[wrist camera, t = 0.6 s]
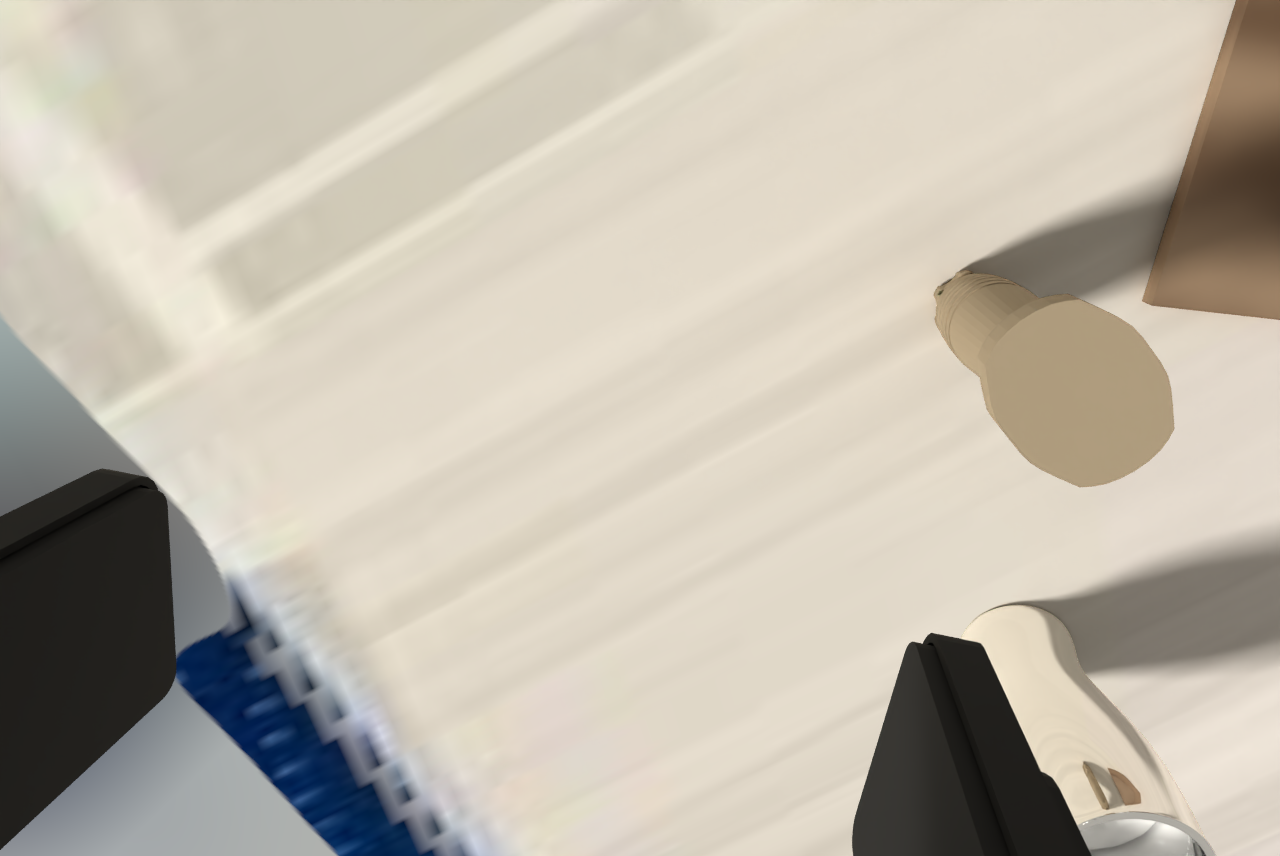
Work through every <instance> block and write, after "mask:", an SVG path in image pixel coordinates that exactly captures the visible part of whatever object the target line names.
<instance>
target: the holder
mask: <svg viewBox="0 0 1280 856" xmlns="http://www.w3.org/2000/svg"><path fill="white" fill-rule="evenodd" d="M1142 301H1143V302H1145V303H1147V304H1149V305H1152V306H1161V307H1170V308H1179V309H1188V310H1197V311H1205V312H1214V313H1223V314H1232V315H1241V316H1250V317H1259V318H1268V319H1277V320H1280V0H1236V3H1235V6H1234V9H1233V12H1232V15H1231V19H1230V22H1229V25H1228V28H1227V31H1226V35H1225V38H1224V41H1223V44H1222V47H1221V50H1220V54H1219V57H1218V60H1217V63H1216V66H1215V70H1214V73H1213V76H1212V79H1211V82H1210V86H1209V89H1208V92H1207V95H1206V98H1205V102H1204V105H1203V108H1202V111H1201V114H1200V118H1199V121H1198V124H1197V127H1196V130H1195V134H1194V137H1193V140H1192V143H1191V146H1190V150H1189V153H1188V156H1187V159H1186V162H1185V166H1184V169H1183V172H1182V175H1181V178H1180V181H1179V185H1178V188H1177V191H1176V194H1175V197H1174V201H1173V204H1172V207H1171V210H1170V213H1169V217H1168V220H1167V223H1166V226H1165V229H1164V233H1163V236H1162V239H1161V242H1160V245H1159V249H1158V252H1157V255H1156V258H1155V261H1154V265H1153V268H1152V271H1151V274H1150V277H1149V281H1148V284H1147V287H1146V290H1145V293H1144V297H1143V300H1142Z"/></svg>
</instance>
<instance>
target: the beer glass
mask: <svg viewBox="0 0 1280 856" xmlns="http://www.w3.org/2000/svg"><path fill="white" fill-rule="evenodd" d="M961 639H964V640H969V641H974V642H978V643H981V644H982V645H983V647H984V648H985V650H986V653H987V655H988V657H989V659H990V661H991V664H992V666H993V668H994V670H995V672H996V674H997V677H998V679H999V681H1000V683H1001V685H1002V687H1003V690H1004V692H1005V694H1006V696H1007V698H1008V701H1009V703H1010V705H1011V707H1012V709H1013V711H1014V714H1015V716H1016V718H1017V720H1018V722H1019V725H1020V727H1021V729H1022V731H1023V733H1024V735H1025V738H1026V740H1027V742H1028V744H1029V746H1030V748H1031V751H1032V753H1033V755H1034V757H1035V759H1036V762H1037V764H1038V766H1039V768H1040V770H1041V772H1044V773H1046V774H1048V775H1049V776H1051V777H1052V778H1053V779H1054V781H1055V782H1056V784H1057V785H1058V787H1059V788H1060V790H1061V792H1062V795H1063V797H1064V799H1065V801H1066V803H1067V805H1068V807H1069V809H1070V811H1071V813H1072V816H1073V818H1074V820H1075V822H1076V824H1077V826H1078V828H1079V830H1080V832H1081V834H1082V837H1083V839H1084V841H1085V843H1086V845H1087V847H1088V849H1089V851H1090V853H1091V855H1092V856H1216V854H1215V852H1214V850H1213V848H1212V847H1211V845H1210V844H1209V843H1208V841H1207V840H1206V838H1205V836H1204V834H1203V832H1202V830H1201V828H1200V826H1199V824H1198V822H1197V820H1196V818H1195V816H1194V814H1193V812H1192V810H1191V809H1190V807H1189V805H1188V803H1187V801H1186V799H1185V797H1184V795H1183V794H1182V792H1181V790H1180V788H1179V787H1178V785H1177V783H1176V782H1175V780H1174V778H1173V777H1172V775H1171V773H1170V772H1169V770H1168V768H1167V767H1166V765H1165V764H1164V762H1163V761H1162V760H1161V758H1160V757H1159V755H1158V754H1157V752H1156V751H1155V750H1154V748H1153V747H1152V745H1151V744H1150V743H1149V741H1148V740H1147V739H1146V738H1145V737H1144V735H1143V734H1142V733H1141V732H1140V731H1139V730H1138V729H1137V727H1136V726H1135V725H1134V724H1133V723H1132V722H1131V721H1130V719H1129V718H1128V717H1127V716H1126V715H1125V714H1124V713H1123V712H1122V711H1121V710H1120V709H1119V708H1118V707H1117V706H1116V705H1115V704H1114V703H1113V702H1112V701H1111V700H1110V699H1109V698H1108V697H1107V696H1106V695H1105V694H1104V693H1103V692H1102V691H1101V690H1100V689H1099V688H1098V687H1097V686H1096V685H1095V684H1094V683H1093V682H1092V681H1091V680H1090V679H1089V678H1088V676H1087V675H1086V674H1085V672H1084V671H1083V669H1082V667H1081V666H1080V663H1079V661H1078V657H1077V654H1076V650H1075V647H1074V643H1073V641H1072V638H1071V636H1070V634H1069V632H1068V630H1067V628H1066V627H1065V626H1064V624H1063V623H1062V622H1061V621H1060V620H1059V619H1057V618H1056V617H1055V616H1054V615H1052V614H1051V613H1049V612H1047V611H1045V610H1043V609H1040V608H1037V607H1033V606H1028V605H1008V606H1002V607H998V608H995V609H992V610H990V611H988V612H986V613H984V614H982V615H980V616H979V617H978V618H976V619H975V620H974V621H973V622H972V623H971V624H970V625H969V626H968V627H967V628H966V630H965V631H964V633H963V634H962V636H961Z"/></svg>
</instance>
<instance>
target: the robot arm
mask: <svg viewBox="0 0 1280 856" xmlns="http://www.w3.org/2000/svg"><path fill="white" fill-rule="evenodd" d="M175 675H176V652H175V634H174V616H173V597H172V578H171V560H170V542H169V525H168V506H167V500H166V498H165V496H164V494H163V493H161V492H160V491H158V488H157V486H156V485H155V483H154V481H153V480H151V479H150V478H148V477H144V476H139V475H133V474H128V473H124V472H119V471H113V470H107V469H99V470H96V471H93V472H91V473H89V474H87V475H85V476H83V477H81V478H79V479H77V480H75V481H73V482H71V483H68V484H66V485H64V486H62V487H60V488H58V489H56V490H54V491H52V492H50V493H48V494H46V495H44V496H42V497H40V498H38V499H35V500H34V501H31V502H29V503H27V504H25V505H23V506H21V507H19V508H17V509H15V510H13V511H11V512H9V513H7V514H5V515H3V516H1V517H0V850H1V849H2V848H3V847H4V846H5V845H6V844H7V843H8V842H9V841H10V840H11V839H12V838H14V837H15V836H16V835H17V834H18V833H19V832H20V831H21V830H22V829H23V828H24V827H25V826H26V825H27V824H29V823H30V822H31V821H32V820H33V819H34V818H35V817H36V816H37V815H38V814H39V813H40V812H41V811H43V810H44V808H46V807H47V806H48V805H49V804H50V803H51V802H52V801H53V800H54V799H56V798H57V797H58V796H59V795H60V794H61V793H62V792H63V791H64V790H65V789H66V788H67V787H68V786H69V785H71V784H72V783H73V782H74V781H75V780H76V779H77V778H78V777H79V776H80V775H81V774H82V773H84V772H85V771H86V770H87V769H88V768H89V767H90V766H91V765H92V764H93V763H94V762H95V761H96V760H98V758H100V757H101V756H102V755H103V754H104V753H105V752H106V751H107V750H108V749H109V748H110V747H111V746H113V744H115V743H116V742H117V741H118V740H119V739H120V738H121V737H122V736H123V735H124V734H126V733H127V732H128V731H129V730H130V729H131V728H132V727H133V726H134V725H135V724H136V723H137V722H138V721H139V720H141V719H142V718H143V717H144V716H145V715H146V714H147V713H148V712H149V711H150V710H151V709H153V707H155V706H156V705H157V704H158V703H159V702H160V701H161V700H162V699H163V698H164V697H165V696H166V694H167V693H168V691H169V690H170V688H171V686H172V684H173V682H174V679H175ZM852 848H853V856H1092V855H1091V853H1090V851H1089V849H1088V847H1087V845H1086V843H1085V841H1084V839H1083V837H1082V834H1081V832H1080V830H1079V828H1078V826H1077V824H1076V822H1075V820H1074V818H1073V816H1072V813H1071V811H1070V809H1069V807H1068V805H1067V803H1066V801H1065V799H1064V797H1063V795H1062V792H1061V790H1060V788H1059V787H1058V785H1057V784H1056V782H1055V781H1054V779H1053V778H1052V777H1051V776H1049V775H1048V774H1046V773H1044V772H1041V770H1040V768H1039V766H1038V764H1037V762H1036V759H1035V757H1034V755H1033V753H1032V751H1031V748H1030V746H1029V744H1028V742H1027V740H1026V738H1025V735H1024V733H1023V731H1022V729H1021V727H1020V725H1019V722H1018V720H1017V718H1016V716H1015V714H1014V711H1013V709H1012V707H1011V705H1010V703H1009V701H1008V698H1007V696H1006V694H1005V692H1004V690H1003V687H1002V685H1001V683H1000V681H999V679H998V677H997V674H996V672H995V670H994V668H993V666H992V664H991V661H990V659H989V657H988V655H987V653H986V650H985V648H984V647H983V645H982V644H981V643H978V642H974V641H969V640H964V639H959V638H954V637H949V636H944V635H939V634H934V633H930V634H929V635H927V637H926V639H925V640H924V642H923V644H921V643H916V642H911V643H909V645H908V646H907V649H906V651H905V654H904V657H903V660H902V664H901V667H900V670H899V674H898V677H897V680H896V683H895V687H894V690H893V693H892V697H891V700H890V703H889V707H888V710H887V713H886V716H885V720H884V723H883V726H882V730H881V733H880V736H879V739H878V743H877V746H876V749H875V753H874V756H873V759H872V762H871V766H870V769H869V772H868V776H867V779H866V782H865V785H864V789H863V792H862V795H861V799H860V802H859V805H858V808H857V812H856V815H855V819H854V825H853V835H852Z"/></svg>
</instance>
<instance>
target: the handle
mask: <svg viewBox="0 0 1280 856" xmlns="http://www.w3.org/2000/svg"><path fill="white" fill-rule="evenodd" d="M934 297H935V299H936V303H937V307H936V317H935V323H936V325H937V327H938V329H939V330H940V332H941V334H942V337H943V338H944V340H945V341H946V343H947V345H948V346H949V348H950V349H951V350H952V352H953V353H954V354H955V355H956V357H957V358H958V359H959V360H960V361H961V362H962V363H963V364H964V365H965V366H966V367H967V368H969V369H970V370H971V371H972V372H974V373H975V374H976V375H977V376H979V377H980V382H981V387H982V392H983V396H984V400H985V404H986V408H987V410H988V412H989V414H990V415H991V417H992V418H993V419H994V421H995V422H996V423H997V424H998V426H999V427H1000V428H1001V429H1002V431H1003V432H1004V433H1005V435H1006V436H1007V437H1008V438H1009V440H1010V441H1011V442H1012V443H1013V445H1014V446H1015V447H1016V448H1017V450H1018V451H1019V452H1020V453H1021V454H1022V455H1023V456H1024V457H1025V458H1026V459H1027V460H1028V461H1029V462H1030V463H1031V464H1033V465H1035V466H1036V467H1038V468H1039V469H1041V470H1043V471H1045V472H1047V473H1049V474H1051V475H1053V476H1055V477H1057V478H1060V479H1062V480H1064V481H1067V482H1069V483H1071V484H1073V485H1076V486H1078V487H1092V486H1098V485H1103V484H1107V483H1110V482H1112V481H1115V480H1118V479H1120V478H1122V477H1124V476H1126V475H1128V474H1130V473H1132V472H1134V471H1136V470H1137V469H1138V468H1140V467H1141V466H1143V465H1144V464H1146V463H1147V462H1148V461H1150V460H1151V459H1152V458H1153V457H1154V456H1155V455H1156V454H1157V453H1158V452H1159V451H1160V450H1161V449H1162V448H1163V446H1164V445H1165V444H1166V442H1167V441H1168V440H1169V438H1170V436H1171V434H1172V432H1173V430H1174V416H1173V403H1172V393H1171V386H1170V382H1169V378H1168V375H1167V373H1166V371H1165V369H1164V367H1163V365H1162V364H1161V362H1160V360H1159V359H1158V358H1157V356H1156V355H1155V354H1154V352H1153V351H1152V349H1151V348H1150V347H1149V345H1148V344H1147V342H1146V341H1145V340H1144V338H1143V337H1142V336H1141V335H1140V334H1139V333H1138V332H1137V331H1136V330H1135V328H1134V327H1133V326H1131V325H1130V324H1128V323H1127V322H1125V321H1123V320H1122V319H1120V318H1119V317H1117V316H1115V315H1113V314H1111V313H1109V312H1107V311H1105V310H1103V309H1100V308H1098V307H1096V306H1094V305H1092V304H1090V303H1087V302H1085V301H1083V300H1081V299H1079V298H1076V297H1074V296H1072V295H1069V294H1060V295H1052V296H1047V297H1043V298H1038V297H1037V296H1035V295H1034V294H1033V293H1032V292H1030V291H1029V290H1027V289H1025V288H1023V287H1022V286H1020V285H1018V284H1016V283H1014V282H1012V281H1010V280H1007V279H1004V278H1002V277H999V276H996V275H990V274H974V273H973V272H971V271H968V270H965V271H960V272H957V273H956V275H955V276H954V278H953V279H952V280H951V281H950V282H948V283H946V284H945V285H942V286H938V287H937V289H936V290H935V292H934Z"/></svg>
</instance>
